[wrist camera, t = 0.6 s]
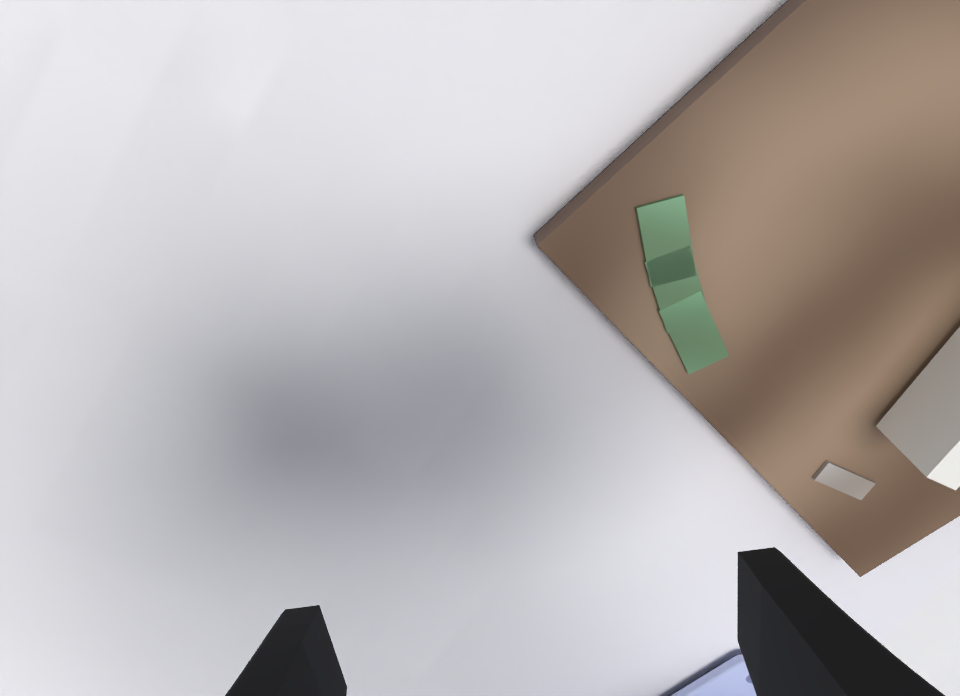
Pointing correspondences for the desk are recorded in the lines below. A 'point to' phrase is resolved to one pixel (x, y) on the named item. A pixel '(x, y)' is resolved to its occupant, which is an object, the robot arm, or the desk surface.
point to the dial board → (797, 254)
